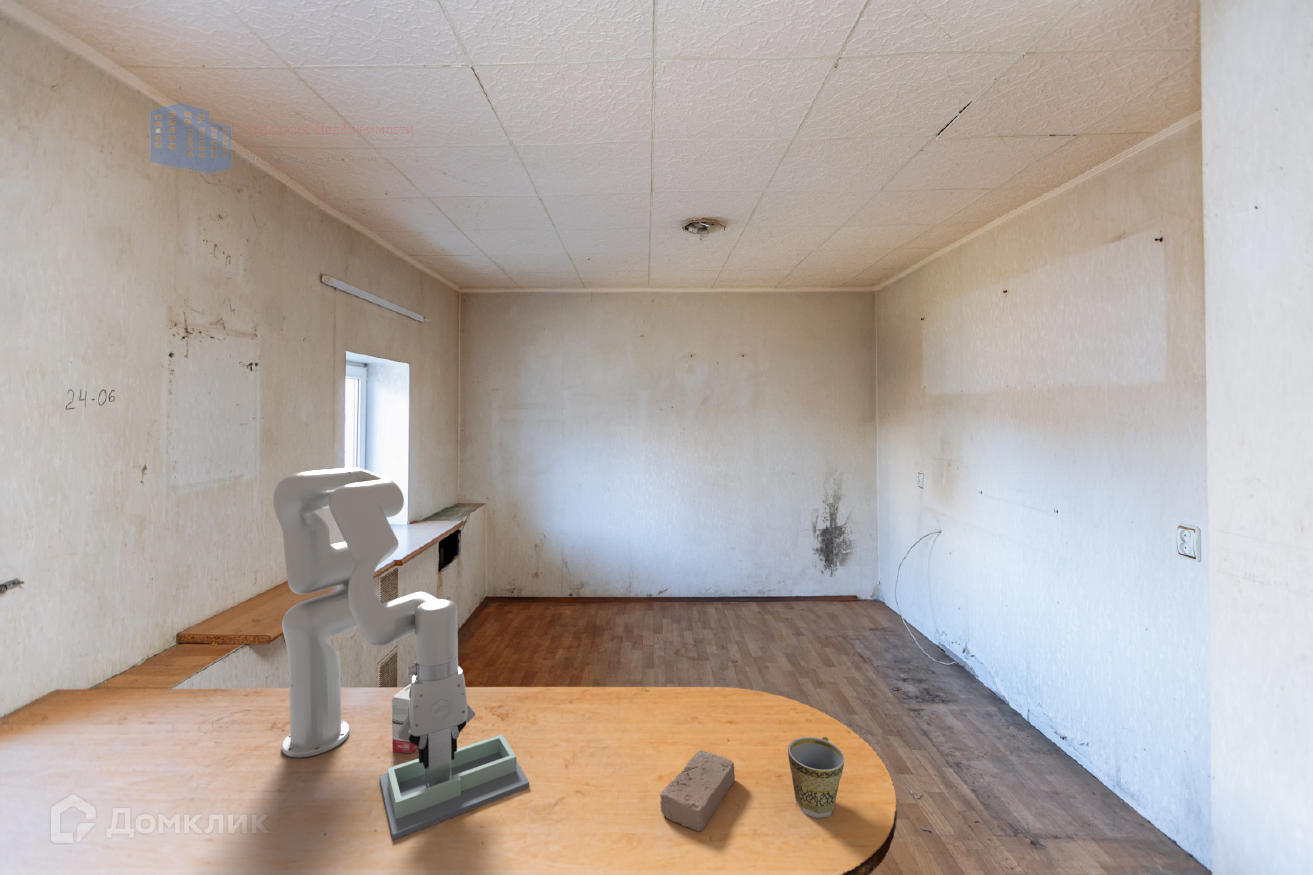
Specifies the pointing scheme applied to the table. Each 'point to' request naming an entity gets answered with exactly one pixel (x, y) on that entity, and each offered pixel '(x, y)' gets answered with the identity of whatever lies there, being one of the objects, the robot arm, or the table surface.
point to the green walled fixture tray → (450, 786)
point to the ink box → (401, 721)
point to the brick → (697, 790)
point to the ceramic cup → (815, 774)
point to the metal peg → (438, 757)
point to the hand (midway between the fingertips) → (438, 759)
